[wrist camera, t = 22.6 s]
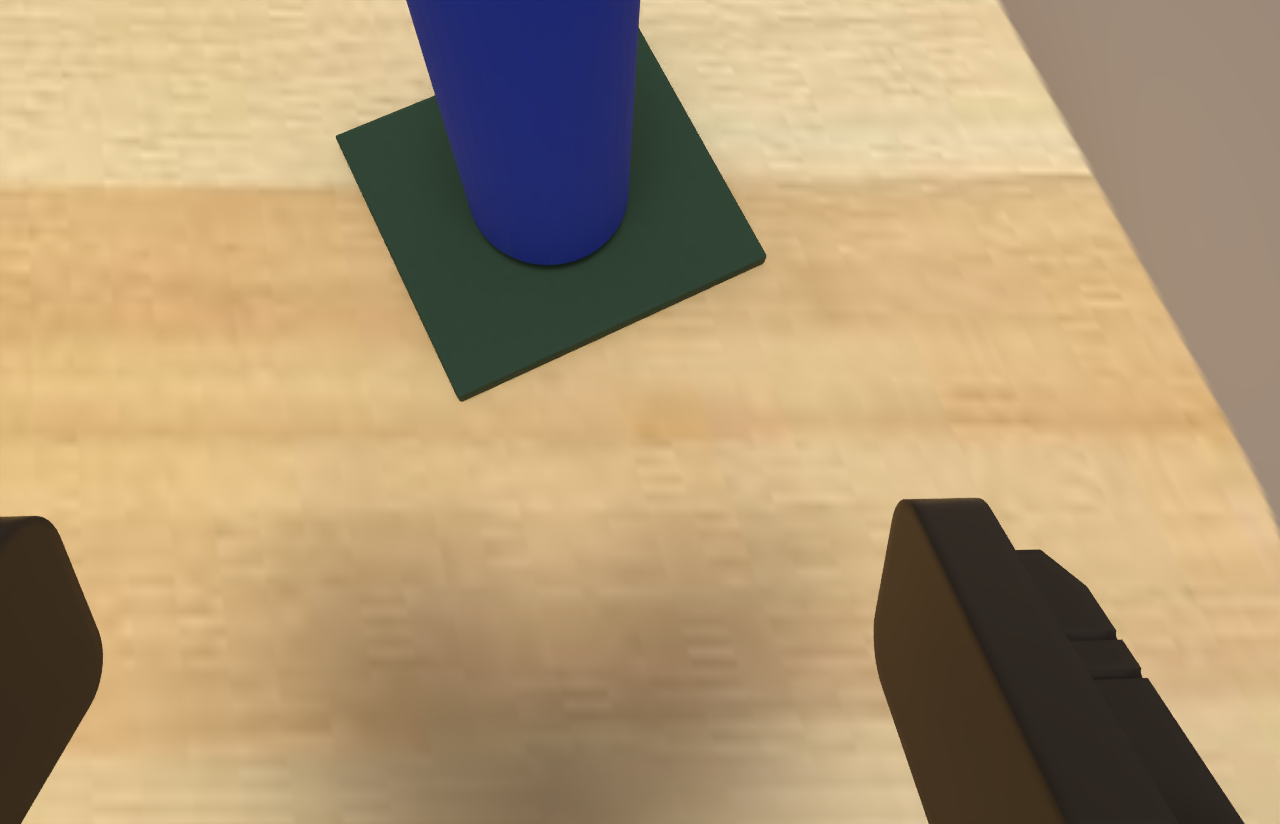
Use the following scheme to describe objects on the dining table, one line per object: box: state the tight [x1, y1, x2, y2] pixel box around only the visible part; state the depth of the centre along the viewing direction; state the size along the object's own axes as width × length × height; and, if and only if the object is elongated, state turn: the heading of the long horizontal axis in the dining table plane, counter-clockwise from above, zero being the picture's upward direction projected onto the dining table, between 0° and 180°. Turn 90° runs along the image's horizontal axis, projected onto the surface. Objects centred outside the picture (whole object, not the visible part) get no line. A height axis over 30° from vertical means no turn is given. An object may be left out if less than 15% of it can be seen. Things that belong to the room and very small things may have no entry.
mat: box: [336, 28, 766, 401], centre depth 31 cm, size 11×10×1 cm
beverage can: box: [406, 0, 640, 265], centre depth 23 cm, size 5×5×15 cm
